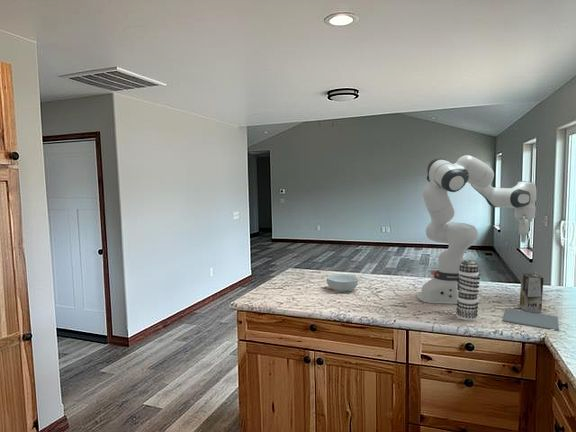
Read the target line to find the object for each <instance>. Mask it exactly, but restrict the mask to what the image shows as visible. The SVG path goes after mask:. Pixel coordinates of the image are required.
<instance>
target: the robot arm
mask: <svg viewBox="0 0 576 432" xmlns="http://www.w3.org/2000/svg"><path fill="white" fill-rule="evenodd" d="M426 172H427V176H426V180H427V181H428V184H427V185H425V186H424V188H423V189H422V197H423V202H424V204H425V206H426V210H427V211H428V214H429V217H430V219H431V221H430V222H429V223H428V224H427V226H426V228H425V233H426V234H425V235H426V238H427V239H428V240H431V241H433V242H436V243H441V244H448V247H447V249H446V250H444V251H442V252H440V254H439V255H438V256H437V257H438V258H437V270H436V271H435V270H430V274H431V275H432V276H433V278H431V279H430V280H428V281H427V282H425V283H424V284H423V285H422V286H421V292H417V293H416V298H417V299H418V300H420V301H421V302H424V303H426V304H427V303H428V304H447V305H457V303H458V302H457V300H458V295H459V294H458V293H459V291H458V290H457V287H458V286H457V284H458V282H457V279H458V278H457V276H458V275H459V269H460V268H459V267H460V264H459V263H461V261H462V260H464V255H465V253H466V251H467V250H468V249H469V248H470V247H472V246H473V245H474V244H475V243H476V242H477V240H478V237H479V232H478V229H477V228H476V226H475V225H473V224H469V223H465V222H455V221H451V220H452V219H453V218H454V217H455V212H456V211H455V208H454V206H453V204H452V202H451V199H450V196H449V194H448V192H450V193H456V192H459V191H460V190H461V189H463V188H464V187H465V186H466V184H467V183H468V184H470V187H472V188H473V189H474V190H475V191H476V192H478V194H480V195H481V196H482V197H483V198H484V199H485V201H486V202H487V204H488V205H489V207H492V208H507V209H514V216H513V217H514V218H516V220H517V222H519V223H518V235H519V236H520V243H526V239H527V238H526V237H527V236H528V233H529V230H530V226H531V222H532V221H533V219H535V218H536V211H537V210H536V209H537V207H536V202H537V187H536V183H534V182H532V181H526V180H525V181H524V180H522V181H520V180H519V181H518V182H517V184H515V185H514V186H512V187H508V188H507V187H494V186H492V185H491V184H492V182H493V180H494V177H495V173H494V172H495V171H494V170H493V169H492V168H491V166H490V165H488V164H487V163H485V162H483V161H482V160H480V159H479V158H477V157H475V156H472V155H469V154H467V155H462V156H460V157H459V158H458V159H457V161H456V162H455V163H452V162H450V161H448V160H447V159H445V158H441V157H440V158H439V157H437V158H434V159H432V160H431V161H430V162H429V163H428V166H427V168H426Z"/></svg>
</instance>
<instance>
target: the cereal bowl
mask: <svg viewBox="0 0 576 432" xmlns="http://www.w3.org/2000/svg"><path fill="white" fill-rule="evenodd" d="M358 283H359V278H358V277H357V276H355V275H352V274H347V273H346V274H345V273H335V274H330V275H328V276H327V277H326V284H327V286H328V287H329V288H330V289H332V290H334V291H335V292H339V293H347V292H349V291H352V290H354V289H356V287H357V286H358Z"/></svg>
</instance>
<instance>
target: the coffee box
mask: <svg viewBox="0 0 576 432" xmlns="http://www.w3.org/2000/svg"><path fill="white" fill-rule="evenodd" d="M543 292H544V277H542V276H541V275H539V274H536V273H520V293H519V294H520V295H519V307H520V308H521V309H522V310H524V311H525V312H531V313H538V314H542V309H543V306H542V305H543V294H544V293H543Z"/></svg>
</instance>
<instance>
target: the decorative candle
mask: <svg viewBox="0 0 576 432" xmlns="http://www.w3.org/2000/svg"><path fill="white" fill-rule="evenodd" d="M459 264H460V267H459V268H460V269H459V275H458V276H457V278H458V279H457V282H458V284H457V286H458V287H457V290H458V291H459V293H458V294H459V295H458V300H457V302H458V303H457V304H456V316H455V317H457V318H458V319H460V320H463V321H477V320H478V316H479V310H478V309H479V302H478V301H479V300H478V293H479V292H480V290H479V289H478V288H480V285H479V284H480V282H479V281H480V279H481V278H480V276H481V274H480V273H479V267H480V264H478V262H477V261H476V260H472V259H462V261H461V263H459Z"/></svg>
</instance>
